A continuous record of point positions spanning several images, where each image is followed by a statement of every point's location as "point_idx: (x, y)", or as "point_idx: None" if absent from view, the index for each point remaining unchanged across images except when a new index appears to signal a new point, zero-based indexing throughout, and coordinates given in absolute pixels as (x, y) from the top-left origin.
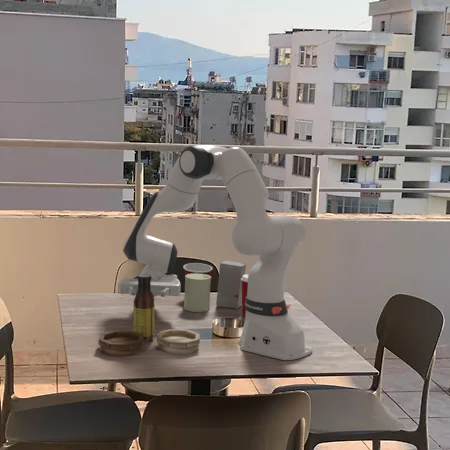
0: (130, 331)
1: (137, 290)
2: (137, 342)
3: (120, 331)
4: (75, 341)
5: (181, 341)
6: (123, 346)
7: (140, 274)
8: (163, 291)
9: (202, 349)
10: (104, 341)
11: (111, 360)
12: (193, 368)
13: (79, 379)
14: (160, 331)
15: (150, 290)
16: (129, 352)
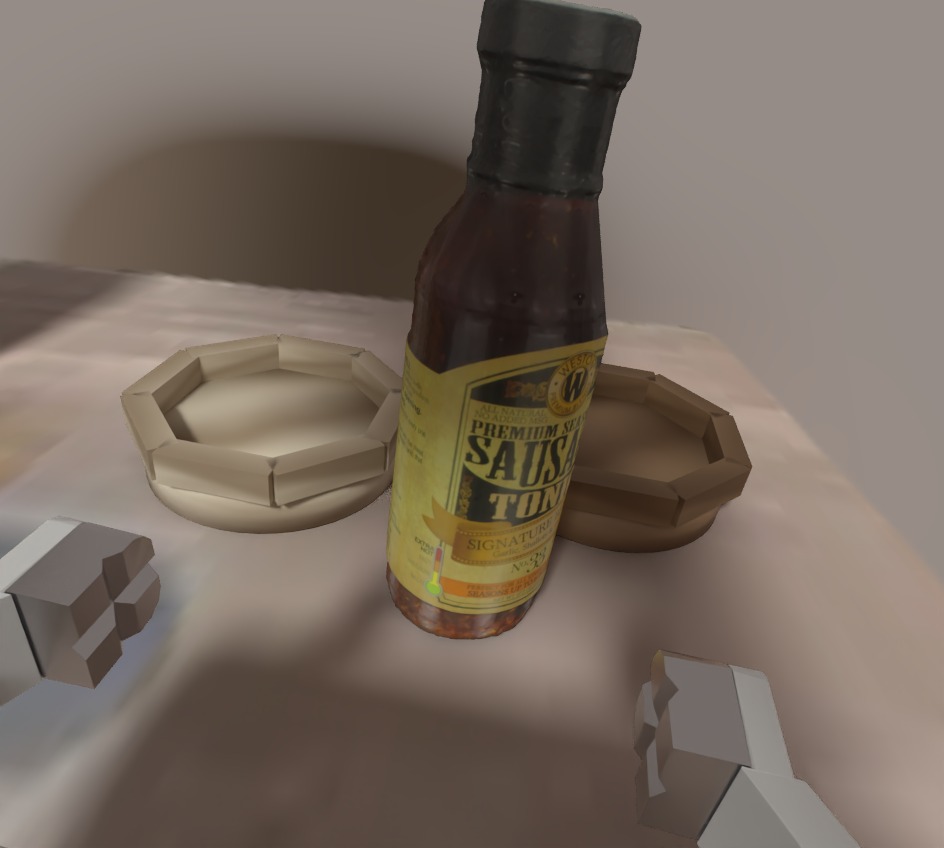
0: (572, 474)
1: (598, 212)
2: None
3: (640, 484)
4: (917, 603)
5: (299, 345)
6: None
7: (613, 12)
8: (90, 523)
9: None
10: (693, 394)
11: None
12: (316, 317)
13: (694, 330)
14: (365, 450)
15: (465, 190)
16: None
